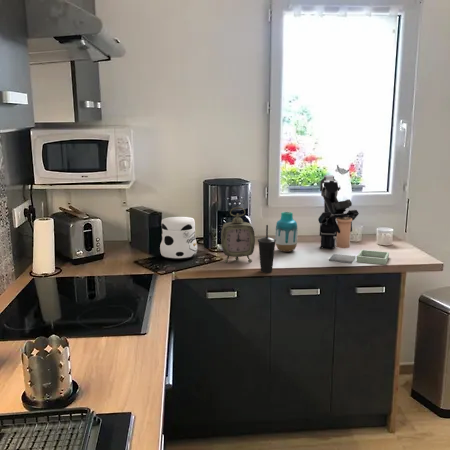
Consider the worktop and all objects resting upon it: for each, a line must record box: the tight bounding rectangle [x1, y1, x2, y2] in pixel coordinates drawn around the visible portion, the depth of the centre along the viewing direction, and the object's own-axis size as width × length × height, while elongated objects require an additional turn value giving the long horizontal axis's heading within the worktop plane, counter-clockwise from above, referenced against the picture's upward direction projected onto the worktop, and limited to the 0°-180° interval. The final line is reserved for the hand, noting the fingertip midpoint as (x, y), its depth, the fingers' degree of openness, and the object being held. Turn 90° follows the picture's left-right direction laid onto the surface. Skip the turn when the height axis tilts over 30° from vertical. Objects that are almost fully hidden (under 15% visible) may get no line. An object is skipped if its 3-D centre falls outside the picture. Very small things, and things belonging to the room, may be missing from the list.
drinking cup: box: [257, 224, 276, 274], centre depth 213 cm, size 8×8×20 cm
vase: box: [274, 211, 299, 253], centre depth 246 cm, size 11×11×19 cm
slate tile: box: [328, 253, 356, 264], centre depth 233 cm, size 10×10×1 cm
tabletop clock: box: [220, 206, 256, 264], centre depth 228 cm, size 14×9×25 cm, turn 95°
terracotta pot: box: [335, 217, 353, 249], centre depth 230 cm, size 7×7×13 cm
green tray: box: [356, 249, 390, 265], centre depth 232 cm, size 13×13×2 cm
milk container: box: [159, 216, 198, 261], centre depth 236 cm, size 17×17×18 cm
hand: (345, 231), depth 229 cm, fingers closed on terracotta pot, 6 cm apart
